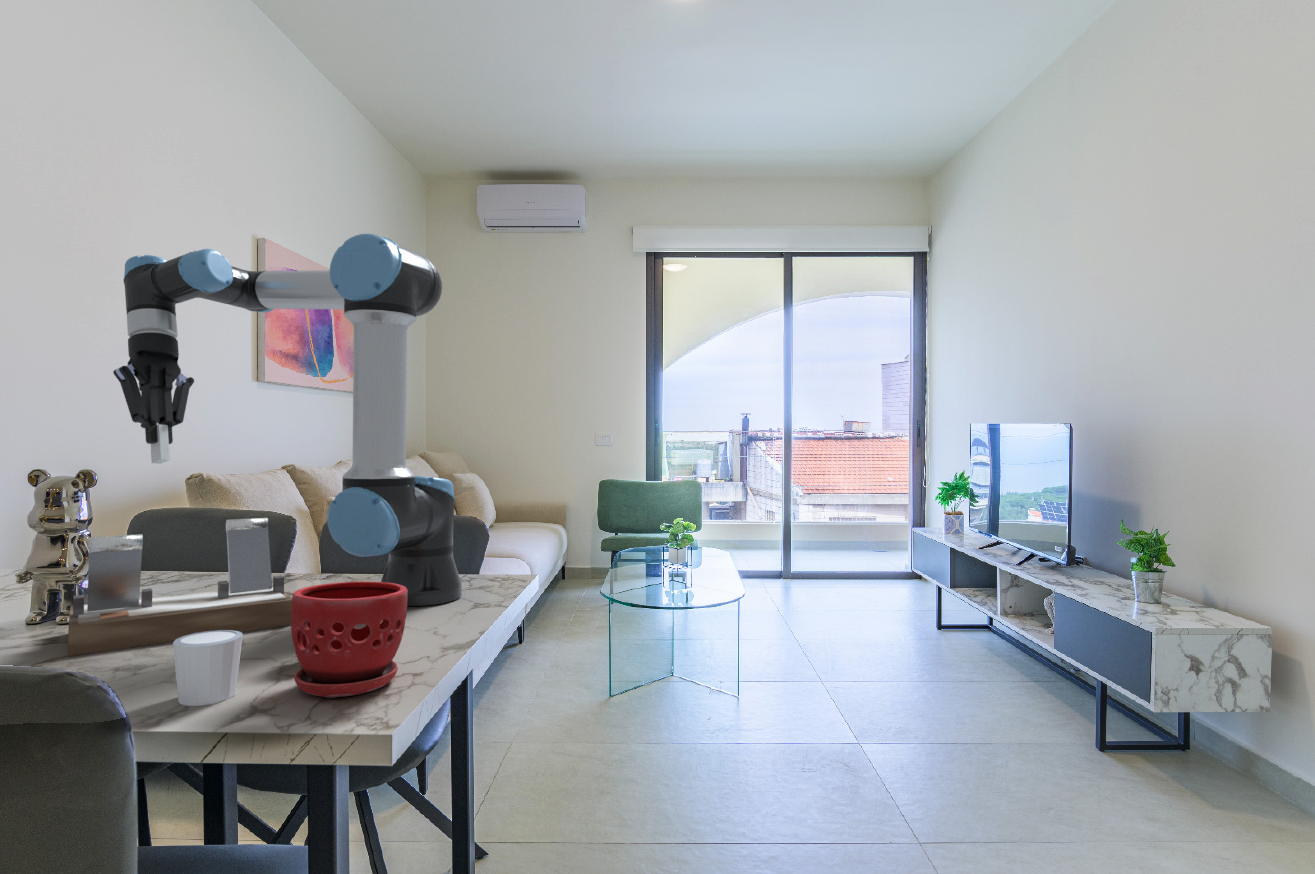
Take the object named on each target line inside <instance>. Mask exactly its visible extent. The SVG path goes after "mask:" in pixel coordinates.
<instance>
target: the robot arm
mask: <svg viewBox="0 0 1315 874" xmlns="http://www.w3.org/2000/svg"><path fill="white" fill-rule="evenodd" d="M329 265H330V266H329V270H325V269H324V270H266V271H265V270H264V271H263V270H262V271H261V270H260V271H259V270H255V271H253V270H247V269H246V270H245V269H242V268H239V267H235V266H232V265H231V263H230V261H229V260H228V258H227V257H225V256H223V255H221V253H220V252H219V251H218V250H215V249H211V248H203V249H200V250H193V251H189V252H187V253H185V254H183V255H180V256H177V257H174V258H171V259H169V260H167V259H166V258H164V257H160V256H157V255H152V254H144V255H135V256H134V255H133V256H131V257H129V258H128V259H127V260H126V261H125V262H124V274H123V275H124V277H123V285H124V295H125V296H124V297H125V310H126V327H127V336H128V337H129V338H128V339H127V349H128V352H127V353H128V358H129V360H128V361H127V365H122V366H120V367H118V368H116V369H114V370H113V371H112V372H113V375H114V377H115V378H116V379H117V381H118V382H119V383H120V387H121V390H122V392H123V395H124V399H125V402H126V405H127V408H128V412H129V414H130V415H129V416H130V418H131V421H132V422H133V423H139V424H140V427H141V428H142V429H144V431H145V432H144V434H145V442H146V444H147V445H150V456H151V458H150V459H151V463H152V464H160V465H161V464H163V463H166V462H168V461H171V455H170V454H171V453H170V444H173V443H174V442H173V441H174V440H173V438H174V436H173V427H176V426H178V425H180V424H182V423H183V422H184V419H185V414H186V409H187V404H188V399H189V393H190V389H191V387H192V386H193V385H194V383H195V378H193V377H192V376H189V377H187V376H186V375H184V374H183V373H182V369H181V367H180V365H179V361H178V360H179V356H180V353H179V342H178V339H177V338H178V325H177V324H178V323H177V313H176V306H177V304H181V303H184V302H187V301H190V300H194V299H204V300H207V301H212V302H216V303H221V304H224V305H225V304H226V305H229V306H232V307H233V306H234V307H237V308H241V309H244V310H246V311H249V312H256V313H270V312H272V311H273V310H343V316H344V317H345V318H346V319H347V320H348V322H349V323H351V325H352V326H353V343H352V344H353V346H352V347H353V350H352V351H353V352H352V353H353V357H352V358H353V362H352V363H353V364H352V366H353V367H352V370H353V371H352V374H353V375H352V379H353V380H352V382H353V383H352V463H351V464H352V465H351V467H350V468H349V469H348V470H347V471H346V472H345V473H344V474H342V484H341V485H342V491H341V492H339V493H338V494H337V495H335V497H334V500H332V501H330V504H329V507H328V509H327V516H326V517H327V518H326V519H327V520H326V521H327V527H328V530H329V533H330V535H331V538H332V539H333V541H334V542H335V543H336V544H337V545H339V546H340V547H341V549H342V550H343V551H345V552H347V553H348V554H351V555H353V556H356V557H362V558H363V557H365V558H367V557H373V556H375V557H379V556H383V555H387V554H388V561H387V563H386V566H385V569H384V572H383V574H382V577H381V580H380V582H386V583H394V584H399V585H402V586H404V587H406V588H407V590H408V596H407V607H420V606H421V607H423V606H424V607H425V606H433V605H440V604H447V603H449V602H453V601H456V600H458V599H460V598H461V597H462V595H463V594H462V591H463V589H462V588H463V587H462V586H463V584H462V581H461V579H460V575H459V571H458V569H457V565H456V563H455V559H454V525H455V524H454V523H455V522H454V519H455V517H454V516H455V515H454V514H455V501H456V496H455V495H454V494H455V491H454V490H455V489H454V488H455V486H454V484H453V482H452V481H451V480H449V479H448V478H442V477H441V478H440V477H433V476H430V477H428V476H422V475H421V476H419V475H418V476H417V475H415V474H414V473H413V472H412V471H411V470H410V469H409V468H408V466H407V379H408V378H407V377H408V376H407V371H408V370H407V367H408V366H407V365H408V364H407V363H408V361H407V359H408V355H407V354H408V351H407V350H408V346H407V345H408V329H409V328H410V327H411V326H412V325H413V324H414V323H415V322H416V321H417V317H422V316H423V315H425V314H428V313H429V312H431V310H433V309H435V307H436V306H437V305H438V303H439V301H440V300H441V296H442V290H443V283H442V279H441V274H440V273H439V270H438V269H437V267H436V266H435V265H434V264H433V263H432V262H431V261H430V260H429V259H427V258H426V257H425V256H423V255H421V254H419V253H416V252H414V251H412V250H411V249H408V248H406V247H404V246H402V245H401V244H400V245H399V244H398V243H396V242H395V241H393V240H392V239H390V238H387V237H384V236H383V237H382V236H379V235H378V234H373V233H361V234H356V235H354V236H351V237H349V238H347V239H346V240H345V241H344V242H343V244H342V245H341V246H339V247H338V248H337V249H336V251H334V253H333V255H332V258H331V261H330V264H329ZM173 383H174V384H175V386H176V387H175V389H174V393H173V397H172V390H173V387H174V385H173Z"/></svg>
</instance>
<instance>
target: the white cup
mask: <svg viewBox="0 0 1315 874" xmlns="http://www.w3.org/2000/svg"><path fill="white" fill-rule="evenodd" d="M243 638H244V633H243V632H240V631H233V630H216V631H205V632H199V633H194V634H190V635H186V636H182V637H180V638H178V639H176V640H175V641H172V645H173V655H174V657H173V658H174V667H175V668H174V669H175V677H176V690H177V699H178V700H177V701H178V703H179V704H180V705H182V706H186V707H187V706H188V707H196V706H197V707H199V706H207V705H209V706H210V705H213V704H217V703H221V702H224V701H226V700H230V699H231V698H233V696H235V694H236V692H237V687H238V686H237V684H238V677H239V676H238V675H239V668H240V660H241V652H242V644H243Z"/></svg>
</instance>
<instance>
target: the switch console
mask: <svg viewBox="0 0 1315 874" xmlns="http://www.w3.org/2000/svg"><path fill="white" fill-rule="evenodd" d="M272 577H273V578H272V588H271V589H268V590H259V591H250V592H241V593H232V594H230V591H229V581H227V580H221V581H217V590H212V591H201V592H192V593H182V594H173V595H165V596H164V595H163V596H155V597H153V589H152V588H151V587H148V588H141V598H139V606H135V607H126V608H117V609H108V610H99V611H90V612H87V605H88V603H86V604H85V594H78V595H77V594H76V595H73V599H72V601H73V602H72V603H73V604H72V605H73V606H70V608H69V618H68V633H67V635H68V640H67V656H68V657H71V656H79V655H88V654H93V653H102V652H108V651H114V650H120V649H122V650H123V649H129V648H138V647H143V646H150V645H157V644H162V643H163V644H165V643H171V642H172V643H173V642H174V641H175V640H176V639H178V638H180V637H182V636H186V635H190V634H194V633H199V632H205V631H216V630H233V631H240V632H241V633H243V632H249V631H257V630H263V629H265V630H266V629H271V628H278V627H285V626H291V605H292V596H290V595H289V594H288V593H287V592H285V576H283V575H273V576H272Z"/></svg>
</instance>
